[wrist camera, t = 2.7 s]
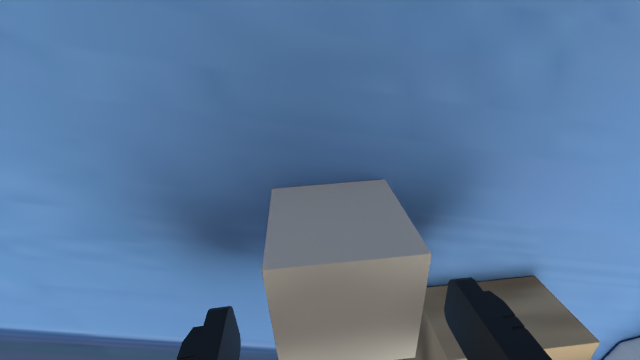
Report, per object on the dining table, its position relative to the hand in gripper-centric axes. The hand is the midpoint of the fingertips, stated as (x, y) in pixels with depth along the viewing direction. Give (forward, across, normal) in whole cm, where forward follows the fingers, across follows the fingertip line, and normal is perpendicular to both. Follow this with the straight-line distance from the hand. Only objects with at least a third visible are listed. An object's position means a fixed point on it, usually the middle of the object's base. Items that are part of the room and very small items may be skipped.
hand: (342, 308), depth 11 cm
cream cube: (+4, 0, -1) cm, 4 cm away
